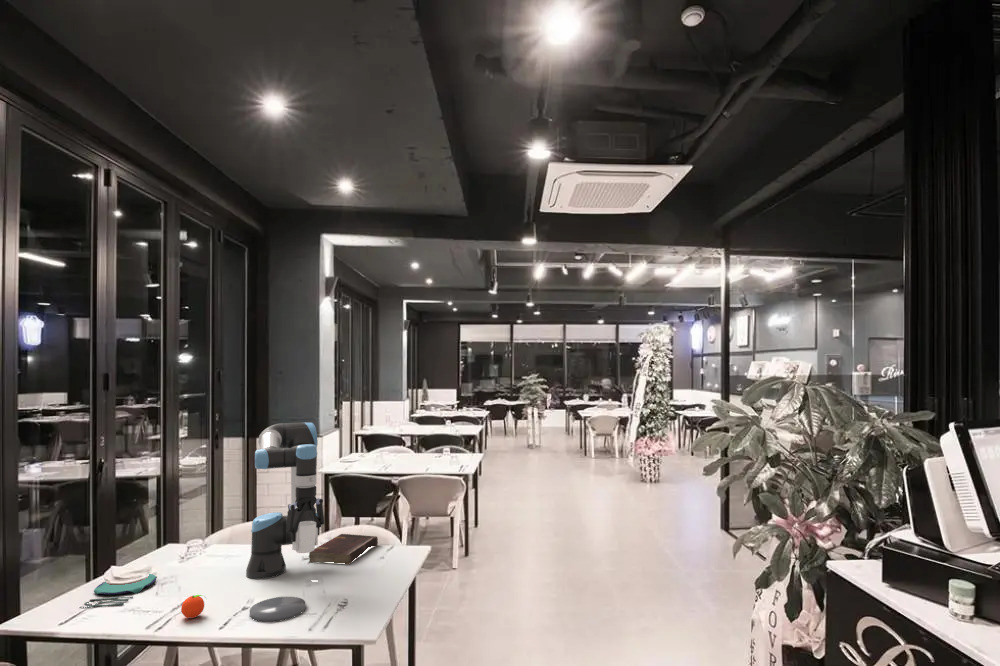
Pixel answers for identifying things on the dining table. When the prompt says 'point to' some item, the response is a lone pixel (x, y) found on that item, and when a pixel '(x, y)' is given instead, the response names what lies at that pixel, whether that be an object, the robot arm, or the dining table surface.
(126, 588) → the cutlery set
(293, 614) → the slate plate
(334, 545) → the hardback book
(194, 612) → the clementine
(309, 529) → the white cup
